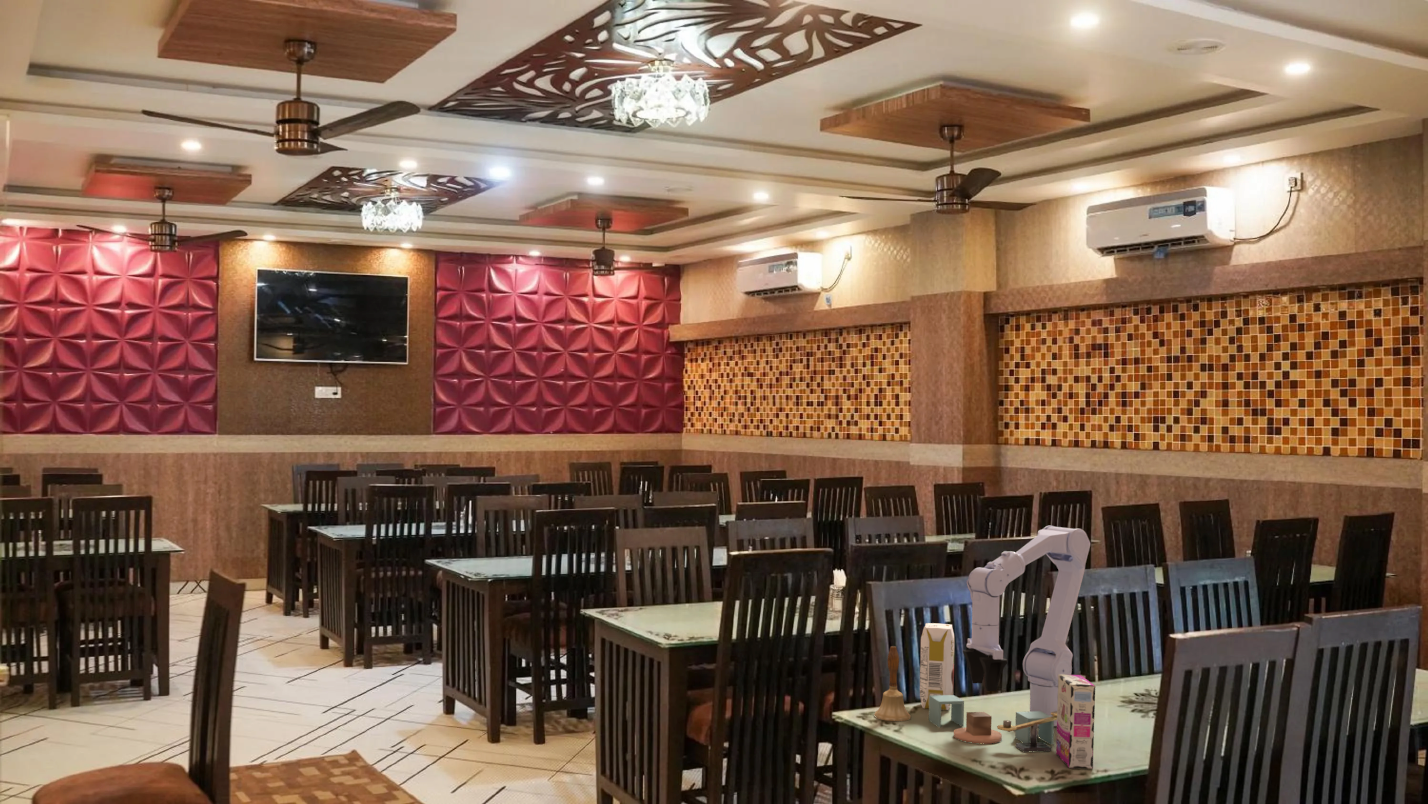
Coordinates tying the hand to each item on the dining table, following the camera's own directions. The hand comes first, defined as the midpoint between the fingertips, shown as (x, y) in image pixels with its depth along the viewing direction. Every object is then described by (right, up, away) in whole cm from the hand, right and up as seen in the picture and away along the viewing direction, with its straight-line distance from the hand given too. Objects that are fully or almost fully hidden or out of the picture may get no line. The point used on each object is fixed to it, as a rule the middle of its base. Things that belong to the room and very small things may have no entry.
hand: (984, 686), depth 271 cm
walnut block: (-2, -9, -5) cm, 10 cm away
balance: (+7, -10, -13) cm, 18 cm away
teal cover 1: (-7, -10, +8) cm, 14 cm away
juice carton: (-6, -10, +24) cm, 27 cm away
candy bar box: (+13, -10, -22) cm, 28 cm away
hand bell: (-18, -10, +13) cm, 24 cm away
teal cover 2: (+9, -10, -6) cm, 15 cm away
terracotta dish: (-2, -10, -5) cm, 11 cm away
